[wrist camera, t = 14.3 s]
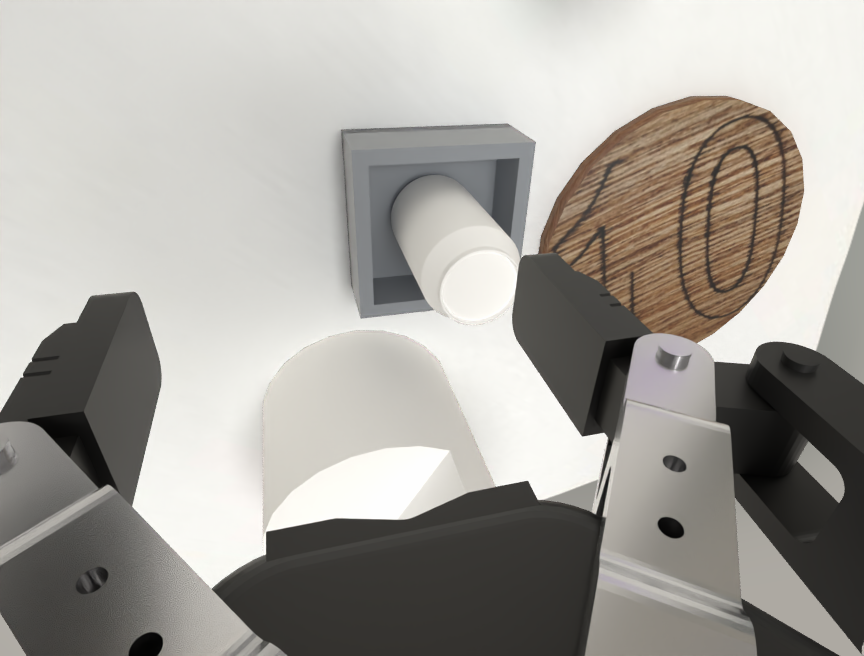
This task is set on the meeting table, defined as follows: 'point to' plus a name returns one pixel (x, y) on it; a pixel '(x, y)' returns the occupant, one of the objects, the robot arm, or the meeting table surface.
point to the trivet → (683, 212)
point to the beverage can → (455, 250)
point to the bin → (407, 161)
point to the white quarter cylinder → (364, 434)
